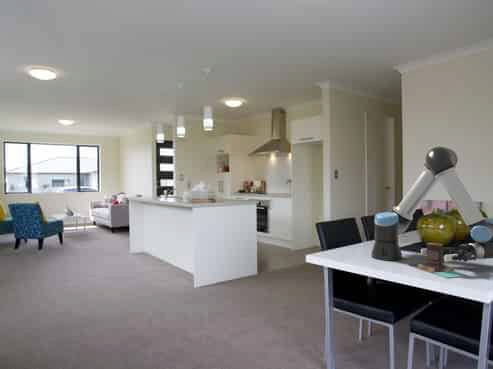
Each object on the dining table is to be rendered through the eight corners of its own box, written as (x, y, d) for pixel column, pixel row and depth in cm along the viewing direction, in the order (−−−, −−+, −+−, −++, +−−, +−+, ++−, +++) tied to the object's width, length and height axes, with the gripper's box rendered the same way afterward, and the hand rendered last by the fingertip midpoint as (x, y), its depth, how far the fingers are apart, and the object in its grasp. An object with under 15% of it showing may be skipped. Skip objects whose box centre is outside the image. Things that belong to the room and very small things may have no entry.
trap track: (408, 265, 165) (408, 261, 165) (427, 263, 168) (427, 259, 168) (432, 273, 150) (432, 269, 150) (453, 271, 153) (453, 267, 153)
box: (443, 270, 156) (443, 243, 156) (441, 272, 153) (441, 245, 152) (429, 267, 160) (429, 242, 160) (426, 269, 157) (426, 243, 156)
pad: (432, 273, 150) (432, 272, 150) (453, 271, 153) (453, 270, 153) (446, 278, 143) (446, 277, 143) (467, 276, 146) (467, 275, 146)
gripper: (495, 266, 149) (456, 270, 143) (447, 254, 173) (412, 257, 167) (495, 249, 149) (456, 252, 143) (447, 239, 173) (412, 241, 167)
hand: (432, 254), depth 155 cm, fingers open, 13 cm apart
